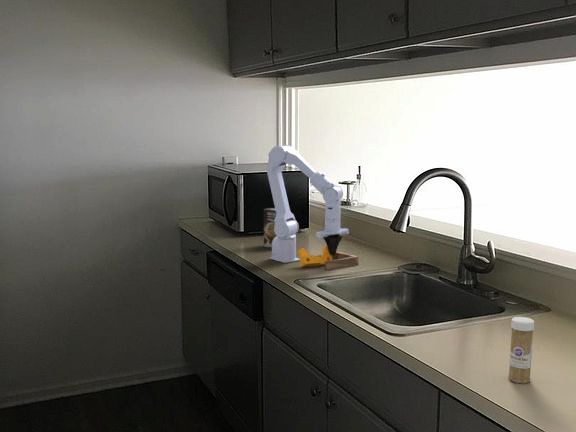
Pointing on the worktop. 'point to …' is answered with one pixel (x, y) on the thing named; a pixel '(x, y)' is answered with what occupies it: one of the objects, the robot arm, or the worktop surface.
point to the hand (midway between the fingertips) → (332, 254)
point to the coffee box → (269, 226)
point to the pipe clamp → (313, 258)
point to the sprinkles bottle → (521, 349)
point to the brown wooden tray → (340, 261)
